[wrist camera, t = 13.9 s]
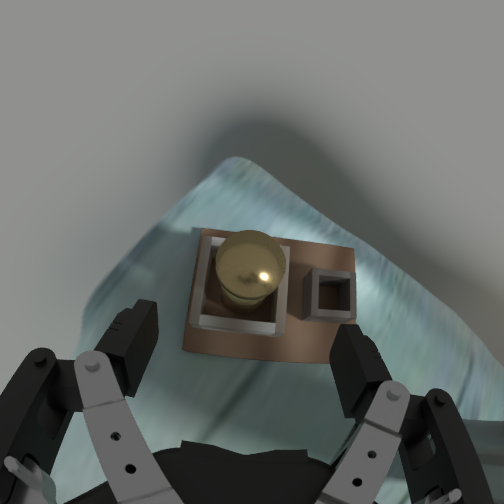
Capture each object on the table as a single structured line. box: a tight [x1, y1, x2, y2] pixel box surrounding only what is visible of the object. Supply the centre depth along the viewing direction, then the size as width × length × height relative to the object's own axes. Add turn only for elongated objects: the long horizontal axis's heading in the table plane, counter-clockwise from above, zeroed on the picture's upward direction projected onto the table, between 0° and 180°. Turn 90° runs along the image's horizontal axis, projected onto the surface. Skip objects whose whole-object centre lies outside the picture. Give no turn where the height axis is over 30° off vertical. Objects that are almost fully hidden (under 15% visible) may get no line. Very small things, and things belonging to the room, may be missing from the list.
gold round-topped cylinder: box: [216, 230, 286, 315], centre depth 22 cm, size 5×5×8 cm
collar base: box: [182, 228, 356, 364], centre depth 25 cm, size 16×12×4 cm
